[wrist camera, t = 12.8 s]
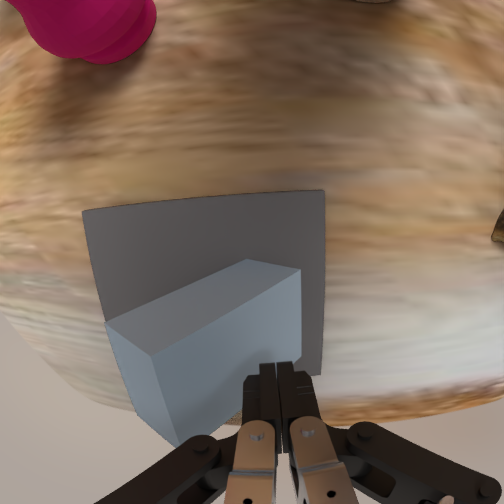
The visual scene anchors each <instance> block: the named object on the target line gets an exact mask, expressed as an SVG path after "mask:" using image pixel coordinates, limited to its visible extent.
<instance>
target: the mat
mask: <svg viewBox="0 0 504 504" xmlns="http://www.w3.org/2000/svg"><path fill="white" fill-rule="evenodd" d="M82 217H83V223H84V229H85V234H86V240H87V245H88V250H89V255H90V260H91V265H92V269H93V274H94V278H95V282H96V287H97V291H98V295H99V299H100V302H101V306H102V310H103V314H104V317H105V321H109V320H111V319H113V318H115V317H118V316H120V315H122V314H124V313H127V312H129V311H131V310H133V309H136V308H138V307H140V306H142V305H145V304H147V303H149V302H151V301H154V300H156V299H158V298H160V297H162V296H165V295H167V294H169V293H171V292H174V291H176V290H178V289H180V288H183V287H185V286H187V285H189V284H192V283H194V282H196V281H198V280H200V279H203V278H205V277H207V276H209V275H212V274H214V273H216V272H218V271H221V270H223V269H225V268H227V267H229V266H232V265H234V264H236V263H238V262H241V261H243V260H245V259H250V260H255V261H260V262H265V263H270V264H275V265H280V266H285V267H290V268H295V269H301V357H300V358H299V359H298V360H297V361H296V362H295V363H294V364H293V367H294V372H295V371H306V372H307V374H308V375H309V376H315V375H321V361H322V344H323V323H324V294H325V193H324V190H301V191H281V192H263V193H247V194H233V195H220V196H207V197H196V198H185V199H174V200H164V201H155V202H146V203H137V204H128V205H120V206H112V207H104V208H97V209H89V210H85V211H82Z"/></svg>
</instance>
